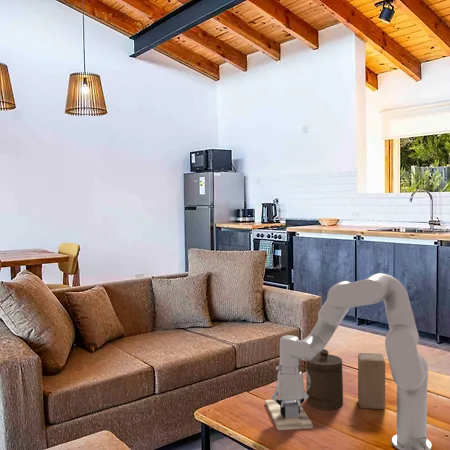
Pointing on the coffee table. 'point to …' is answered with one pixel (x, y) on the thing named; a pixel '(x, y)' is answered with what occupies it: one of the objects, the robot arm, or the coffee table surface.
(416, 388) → the robot arm
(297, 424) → the board
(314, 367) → the wooden container
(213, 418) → the coffee table surface
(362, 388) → the wooden block
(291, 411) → the block
